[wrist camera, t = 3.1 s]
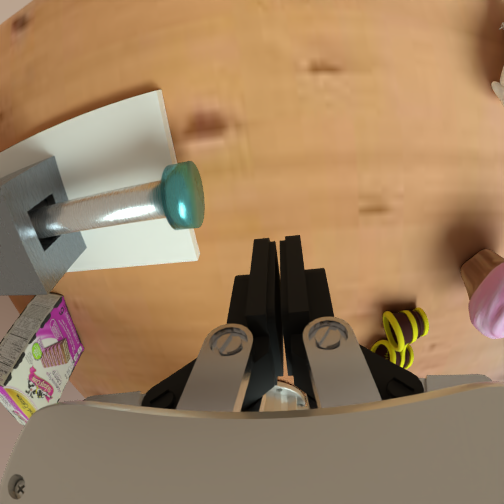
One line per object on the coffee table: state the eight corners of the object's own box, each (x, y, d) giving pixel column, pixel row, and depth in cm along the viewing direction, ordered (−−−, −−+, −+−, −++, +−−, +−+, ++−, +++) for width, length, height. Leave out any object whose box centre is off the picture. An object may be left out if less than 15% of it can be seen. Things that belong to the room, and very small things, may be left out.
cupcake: (435, 269, 30) (474, 334, 21) (489, 217, 26) (541, 270, 17) (465, 305, 32) (497, 364, 24) (511, 261, 28) (553, 313, 20)
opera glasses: (395, 350, 38) (410, 377, 34) (362, 358, 38) (376, 387, 33) (417, 296, 33) (438, 324, 29) (381, 303, 32) (400, 334, 28)
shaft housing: (54, 155, 24) (-1, 186, 18) (86, 247, 30) (47, 294, 23) (-10, 182, 26) (-55, 213, 19) (20, 257, 31) (-16, 295, 24)
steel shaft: (195, 153, 22) (177, 172, 18) (208, 210, 25) (194, 240, 21) (7, 203, 25) (-21, 223, 21) (22, 240, 28) (-2, 264, 24)
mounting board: (161, 89, 22) (156, 90, 21) (200, 253, 31) (197, 260, 30) (-17, 162, 26) (-24, 166, 25) (26, 270, 34) (21, 275, 33)
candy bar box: (86, 349, 41) (45, 436, 27) (62, 342, 41) (18, 423, 27) (64, 293, 35) (2, 389, 21) (38, 288, 35) (-24, 374, 22)
